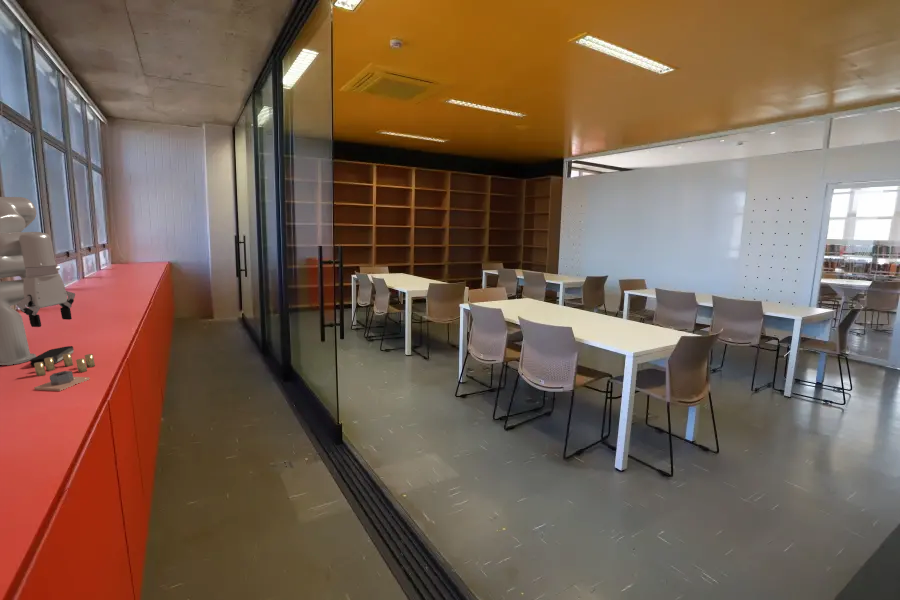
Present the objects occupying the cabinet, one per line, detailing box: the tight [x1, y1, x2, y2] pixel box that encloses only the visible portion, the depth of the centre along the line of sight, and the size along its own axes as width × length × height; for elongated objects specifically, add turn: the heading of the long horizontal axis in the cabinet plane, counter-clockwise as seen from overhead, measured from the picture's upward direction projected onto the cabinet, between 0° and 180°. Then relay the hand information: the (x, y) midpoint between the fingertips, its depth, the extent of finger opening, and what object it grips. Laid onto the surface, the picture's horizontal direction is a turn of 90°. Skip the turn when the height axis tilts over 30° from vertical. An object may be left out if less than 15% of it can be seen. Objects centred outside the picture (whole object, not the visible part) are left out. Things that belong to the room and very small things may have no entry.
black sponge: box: [29, 345, 75, 368], centre depth 175 cm, size 16×8×4 cm, turn 18°
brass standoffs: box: [34, 353, 96, 377], centre depth 162 cm, size 16×12×4 cm
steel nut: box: [49, 370, 74, 385], centre depth 148 cm, size 6×5×3 cm
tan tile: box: [34, 376, 91, 392], centre depth 148 cm, size 10×10×1 cm
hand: (52, 322), depth 147 cm, fingers open, 9 cm apart
